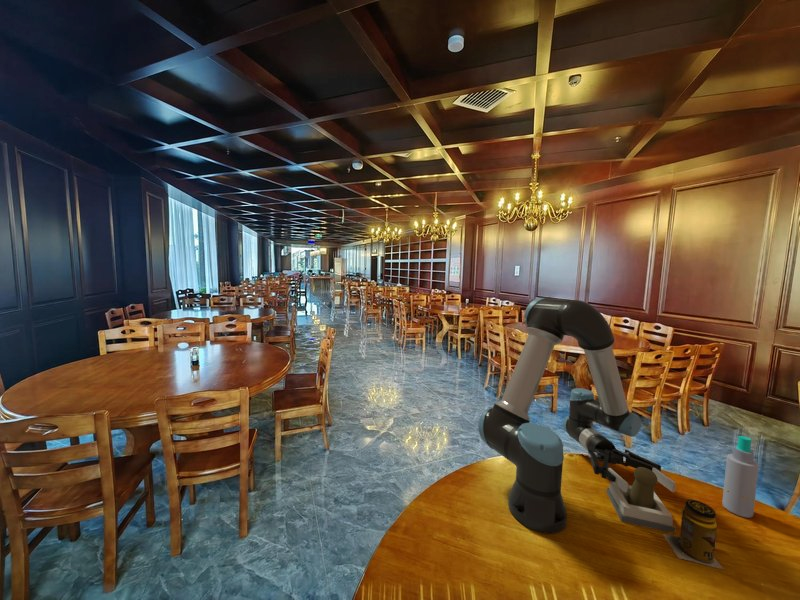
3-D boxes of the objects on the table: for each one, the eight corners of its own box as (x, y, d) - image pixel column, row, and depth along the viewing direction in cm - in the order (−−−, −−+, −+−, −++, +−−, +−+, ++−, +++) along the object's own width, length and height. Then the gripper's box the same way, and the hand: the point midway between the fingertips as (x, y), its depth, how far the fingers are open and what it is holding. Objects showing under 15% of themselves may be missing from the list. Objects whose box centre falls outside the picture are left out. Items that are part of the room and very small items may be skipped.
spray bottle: (755, 522, 84) (764, 446, 82) (724, 511, 88) (731, 438, 86) (749, 509, 89) (757, 437, 87) (720, 499, 92) (727, 430, 91)
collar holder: (621, 521, 83) (622, 507, 83) (606, 492, 95) (607, 480, 94) (674, 533, 80) (676, 519, 79) (652, 501, 91) (653, 489, 91)
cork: (658, 515, 84) (665, 481, 81) (633, 510, 85) (639, 477, 83) (647, 496, 89) (653, 465, 87) (623, 493, 91) (629, 461, 88)
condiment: (723, 569, 70) (728, 520, 69) (678, 558, 72) (682, 511, 71) (702, 543, 77) (707, 498, 76) (662, 534, 79) (666, 491, 78)
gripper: (631, 455, 105) (692, 500, 84) (561, 455, 104) (605, 500, 83) (633, 434, 105) (694, 474, 83) (562, 434, 104) (606, 474, 82)
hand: (650, 487), depth 83 cm, fingers open, 13 cm apart
